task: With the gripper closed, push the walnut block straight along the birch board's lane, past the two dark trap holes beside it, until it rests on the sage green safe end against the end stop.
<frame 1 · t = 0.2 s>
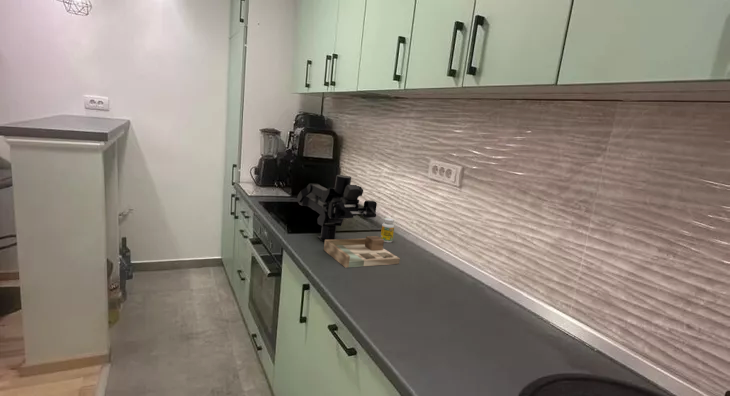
hand: (364, 216, 140), 17 cm above the countertop, tool horizontal, fingers open, 9 cm apart
walnut block: (373, 248, 154), point 2 cm above the countertop, touching trap board
trap board: (360, 256, 148), on the countertop
supplement bottle: (386, 241, 174), on the countertop
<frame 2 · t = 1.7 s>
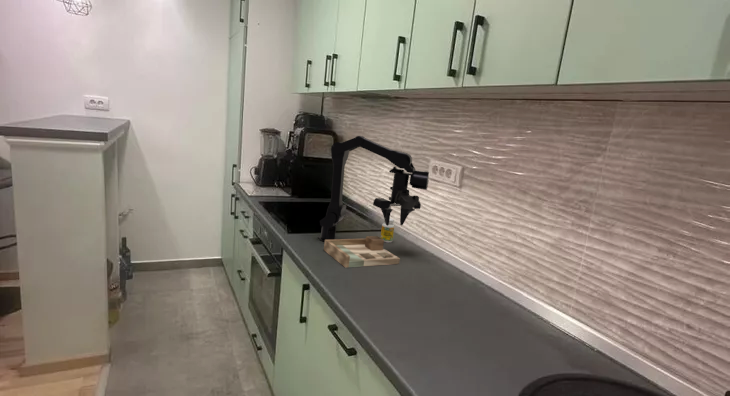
hand: (394, 225, 157), 11 cm above the countertop, tool pointing down, fingers open, 6 cm apart
nothing on the countertop moved.
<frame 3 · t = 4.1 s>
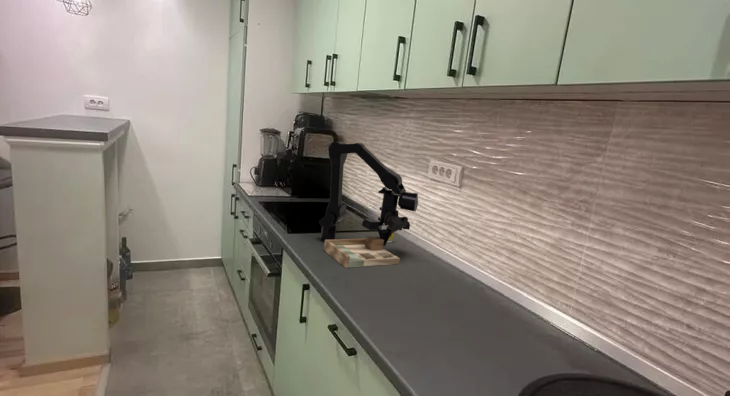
hand: (383, 245, 156), 3 cm above the countertop, tool pointing down, fingers closed
walnut block: (373, 248, 154), point 2 cm above the countertop, touching gripper
everything else where it was.
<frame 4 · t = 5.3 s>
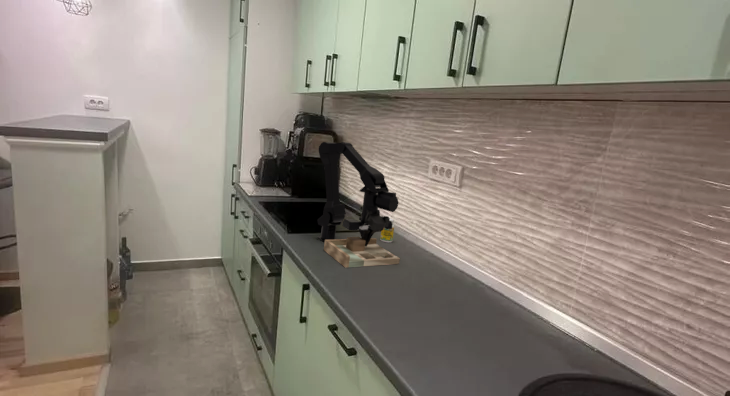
hand: (365, 246, 152), 3 cm above the countertop, tool pointing down, fingers closed
walnut block: (355, 249, 150), point 2 cm above the countertop, touching gripper
everything else where it was.
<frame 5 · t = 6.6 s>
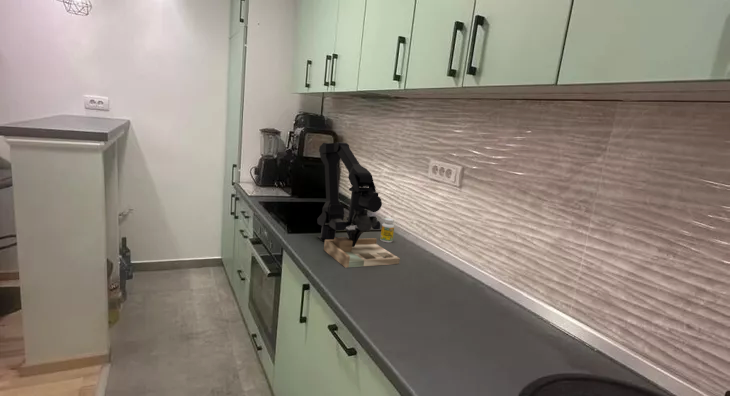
hand: (352, 246, 149), 3 cm above the countertop, tool pointing down, fingers closed
walnut block: (342, 249, 147), point 2 cm above the countertop, touching gripper
everything else where it was.
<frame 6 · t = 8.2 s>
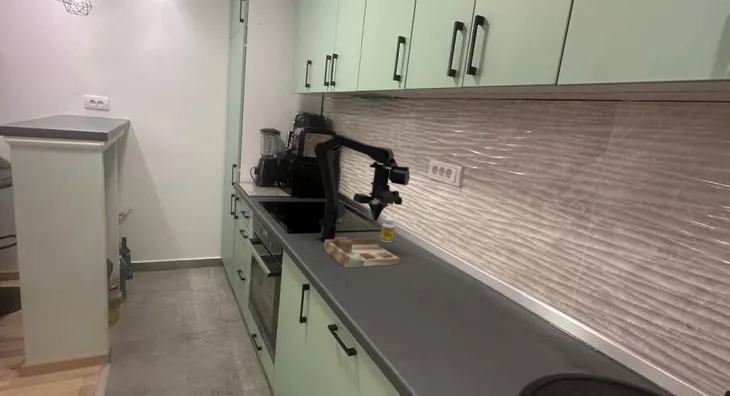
hand: (375, 220, 155), 12 cm above the countertop, tool pointing down, fingers closed
walnut block: (342, 249, 147), point 2 cm above the countertop, touching trap board
everything else where it was.
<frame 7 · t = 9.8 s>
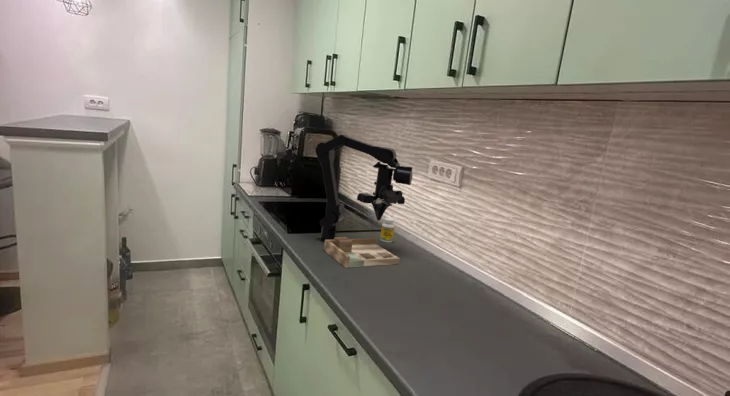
hand: (378, 220, 157), 12 cm above the countertop, tool pointing down, fingers closed
nothing on the countertop moved.
at the end: walnut block inside the target area (0.1 cm from its centre), point 2.0 cm above the countertop; walnut block tilted 0°; walnut block moved 13.6 cm from its start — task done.
